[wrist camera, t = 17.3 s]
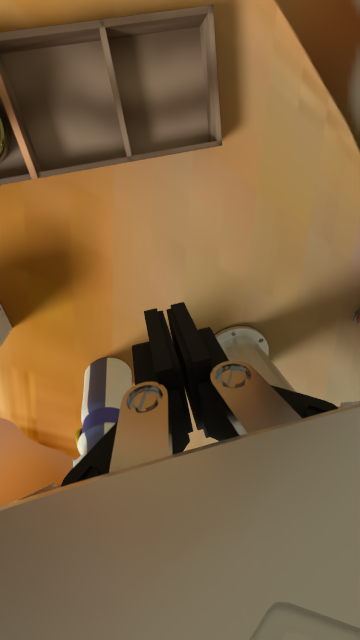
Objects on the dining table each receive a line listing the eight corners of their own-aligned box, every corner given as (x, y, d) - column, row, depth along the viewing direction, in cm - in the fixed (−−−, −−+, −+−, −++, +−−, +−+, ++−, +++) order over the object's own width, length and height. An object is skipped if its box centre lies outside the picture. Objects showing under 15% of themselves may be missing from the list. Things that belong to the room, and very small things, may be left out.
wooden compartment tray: (213, 146, 35) (225, 144, 31) (-52, 194, 32) (-73, 197, 28) (203, 17, 29) (216, -4, 25) (-122, 60, 26) (-160, 44, 22)
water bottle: (97, 403, 50) (84, 582, 29) (72, 369, 46) (35, 550, 24) (141, 385, 50) (160, 551, 29) (120, 349, 46) (124, 513, 24)
